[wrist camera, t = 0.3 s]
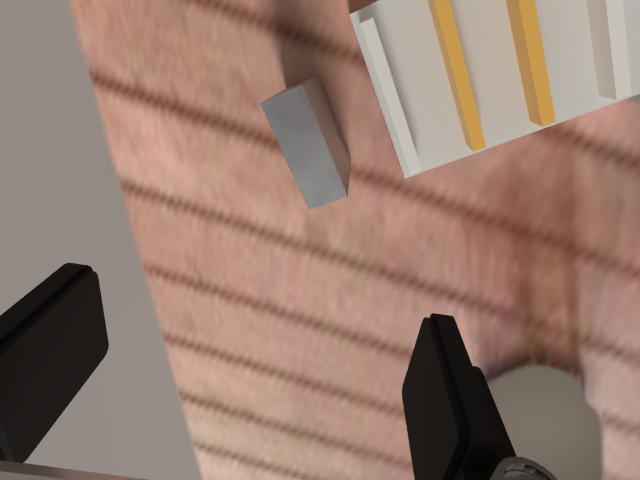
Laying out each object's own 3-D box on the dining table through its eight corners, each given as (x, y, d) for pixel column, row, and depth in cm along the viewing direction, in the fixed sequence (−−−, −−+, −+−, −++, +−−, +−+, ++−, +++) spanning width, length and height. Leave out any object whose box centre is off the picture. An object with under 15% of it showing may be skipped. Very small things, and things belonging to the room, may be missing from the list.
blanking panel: (350, 159, 37) (347, 196, 28) (321, 171, 38) (309, 210, 29) (317, 74, 34) (302, 84, 25) (286, 88, 35) (260, 103, 26)
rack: (682, 72, 32) (723, 75, 28) (403, 173, 37) (408, 187, 34) (672, -140, 26) (721, -169, 23) (349, 15, 32) (348, 12, 28)
